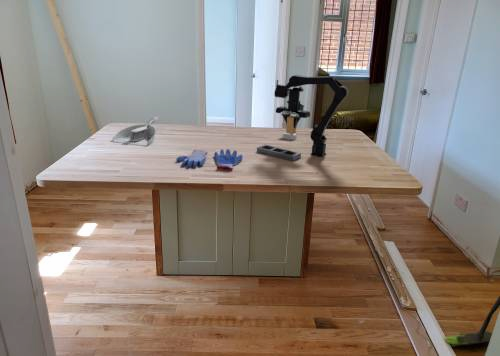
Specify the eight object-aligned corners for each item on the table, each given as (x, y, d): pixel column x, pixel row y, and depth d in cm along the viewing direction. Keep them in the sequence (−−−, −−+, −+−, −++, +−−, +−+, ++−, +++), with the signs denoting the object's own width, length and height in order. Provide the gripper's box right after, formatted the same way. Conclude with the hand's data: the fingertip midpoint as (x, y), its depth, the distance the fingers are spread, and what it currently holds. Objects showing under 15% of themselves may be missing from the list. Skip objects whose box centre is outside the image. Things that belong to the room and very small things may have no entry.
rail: (300, 157, 208) (301, 153, 207) (293, 161, 201) (293, 156, 201) (264, 148, 220) (265, 144, 219) (256, 151, 214) (257, 147, 213)
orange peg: (295, 132, 216) (297, 116, 213) (292, 134, 213) (293, 118, 210) (289, 131, 219) (291, 115, 215) (285, 132, 216) (287, 116, 212)
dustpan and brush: (110, 142, 220) (109, 125, 216) (141, 129, 249) (140, 114, 246) (147, 147, 214) (146, 130, 211) (174, 133, 244) (173, 118, 240)
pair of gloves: (172, 168, 186) (171, 161, 184) (184, 152, 209) (184, 145, 208) (238, 172, 184) (238, 165, 182) (243, 156, 207) (243, 149, 206)
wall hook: (286, 120, 246) (300, 122, 241) (285, 134, 250) (298, 137, 244) (279, 122, 240) (293, 125, 235) (278, 137, 244) (291, 140, 238)
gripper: (316, 99, 210) (313, 128, 216) (286, 95, 220) (284, 122, 226) (306, 102, 202) (303, 131, 208) (276, 97, 212) (274, 125, 218)
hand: (291, 127), depth 215 cm, fingers closed on orange peg, 4 cm apart
